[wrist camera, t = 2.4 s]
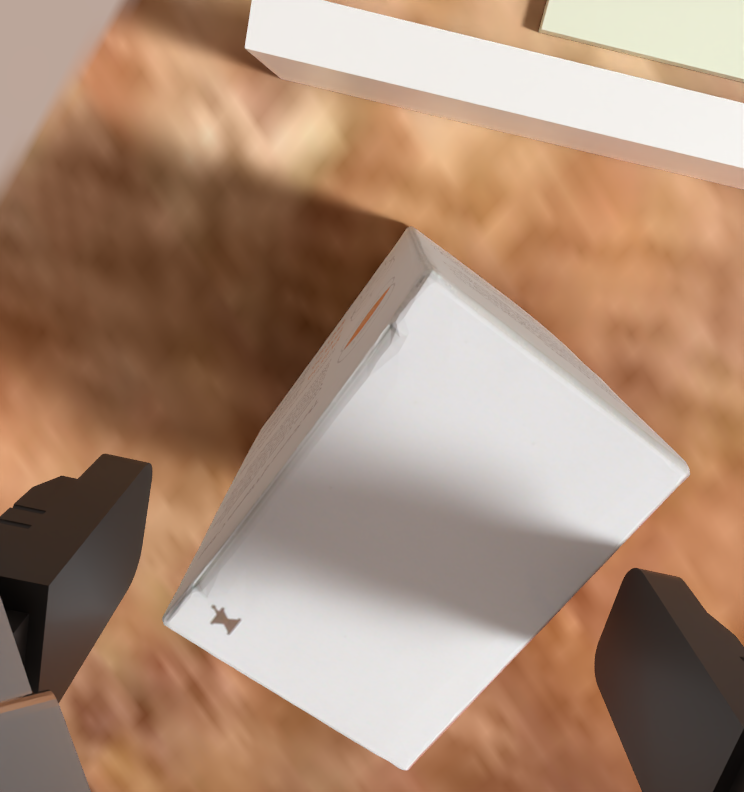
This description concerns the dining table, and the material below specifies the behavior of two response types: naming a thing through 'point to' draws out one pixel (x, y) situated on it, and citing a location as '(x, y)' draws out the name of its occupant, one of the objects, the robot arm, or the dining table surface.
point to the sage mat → (657, 30)
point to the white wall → (500, 87)
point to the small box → (418, 507)
